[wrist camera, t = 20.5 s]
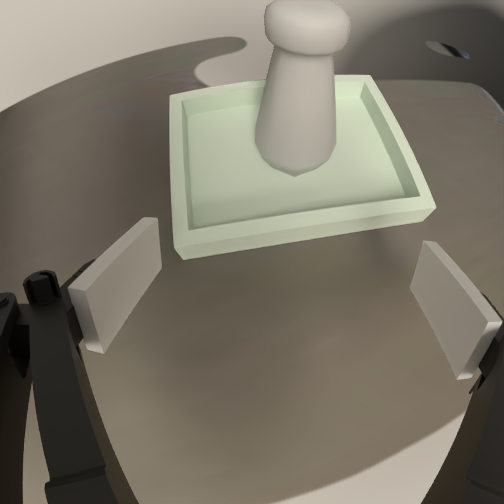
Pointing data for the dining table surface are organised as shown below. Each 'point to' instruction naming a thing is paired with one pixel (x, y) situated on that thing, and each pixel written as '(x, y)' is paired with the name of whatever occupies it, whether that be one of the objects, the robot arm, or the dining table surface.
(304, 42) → the salt shaker
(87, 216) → the dining table surface
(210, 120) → the tray
